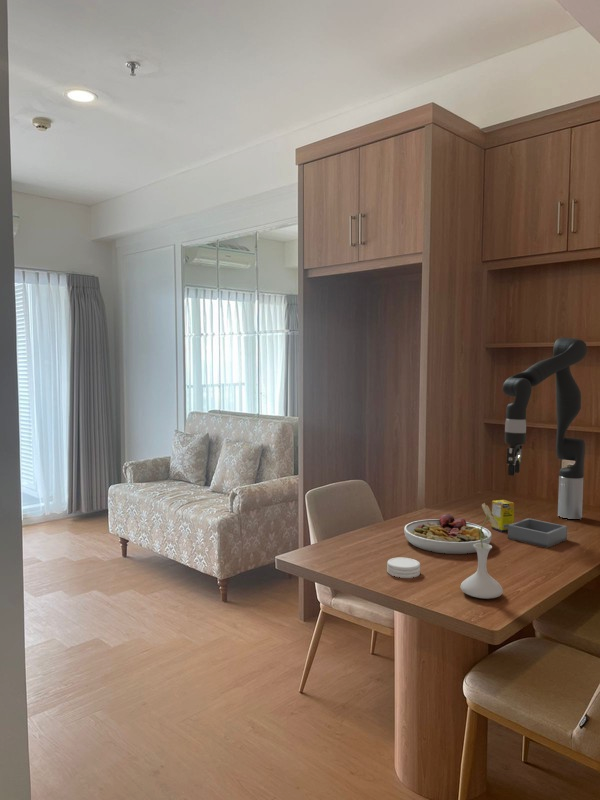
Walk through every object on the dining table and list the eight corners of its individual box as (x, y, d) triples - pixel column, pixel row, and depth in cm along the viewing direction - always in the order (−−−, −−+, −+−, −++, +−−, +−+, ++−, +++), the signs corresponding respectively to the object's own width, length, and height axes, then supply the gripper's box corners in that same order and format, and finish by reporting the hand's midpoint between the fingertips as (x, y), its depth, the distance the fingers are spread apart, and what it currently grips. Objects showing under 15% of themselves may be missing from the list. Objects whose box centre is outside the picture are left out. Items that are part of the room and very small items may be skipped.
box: (527, 531, 233) (528, 518, 233) (566, 539, 222) (567, 526, 222) (507, 538, 223) (508, 525, 223) (547, 548, 212) (547, 533, 212)
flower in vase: (501, 605, 162) (504, 512, 160) (457, 598, 166) (459, 508, 164) (504, 588, 174) (507, 501, 172) (463, 582, 178) (465, 498, 177)
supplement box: (513, 530, 233) (514, 502, 233) (501, 532, 231) (502, 503, 231) (503, 527, 239) (504, 499, 238) (491, 528, 237) (491, 500, 236)
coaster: (380, 572, 188) (380, 560, 187) (402, 565, 194) (402, 554, 193) (404, 581, 180) (404, 569, 179) (427, 574, 186) (427, 563, 185)
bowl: (495, 560, 200) (496, 536, 199) (402, 553, 206) (403, 530, 205) (486, 534, 229) (487, 514, 228) (405, 529, 235) (405, 509, 234)
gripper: (521, 433, 221) (520, 477, 222) (529, 430, 234) (528, 472, 234) (500, 431, 225) (499, 475, 226) (509, 429, 238) (508, 470, 238)
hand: (513, 473), depth 230 cm, fingers open, 8 cm apart
